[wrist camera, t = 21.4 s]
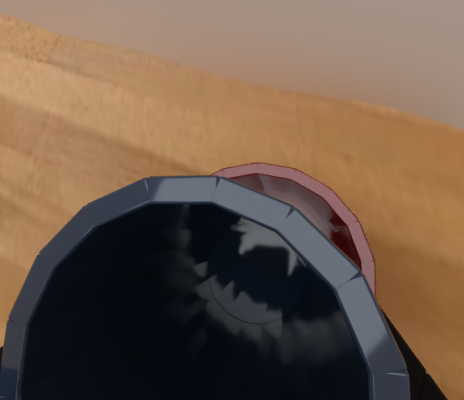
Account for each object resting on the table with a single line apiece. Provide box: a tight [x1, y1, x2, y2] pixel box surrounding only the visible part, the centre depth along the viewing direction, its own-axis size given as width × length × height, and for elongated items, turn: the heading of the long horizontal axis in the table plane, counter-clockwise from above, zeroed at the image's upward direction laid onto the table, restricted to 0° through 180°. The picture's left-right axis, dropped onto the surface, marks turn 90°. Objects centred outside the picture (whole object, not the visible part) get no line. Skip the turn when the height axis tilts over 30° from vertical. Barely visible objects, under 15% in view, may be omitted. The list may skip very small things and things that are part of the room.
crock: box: [0, 175, 410, 400], centre depth 10 cm, size 7×7×12 cm
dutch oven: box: [212, 162, 376, 298], centre depth 16 cm, size 12×13×6 cm
